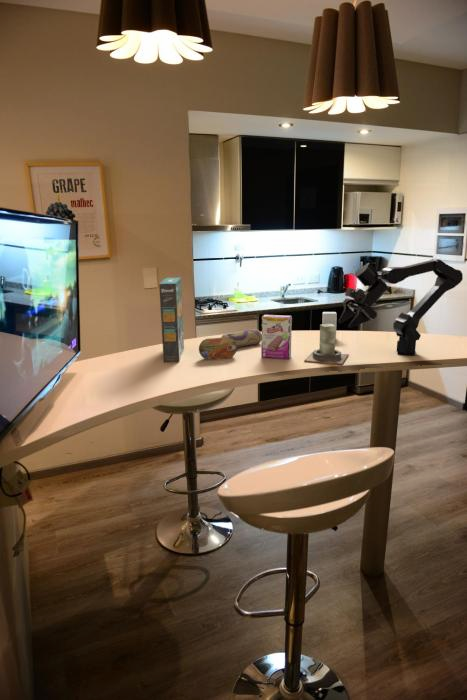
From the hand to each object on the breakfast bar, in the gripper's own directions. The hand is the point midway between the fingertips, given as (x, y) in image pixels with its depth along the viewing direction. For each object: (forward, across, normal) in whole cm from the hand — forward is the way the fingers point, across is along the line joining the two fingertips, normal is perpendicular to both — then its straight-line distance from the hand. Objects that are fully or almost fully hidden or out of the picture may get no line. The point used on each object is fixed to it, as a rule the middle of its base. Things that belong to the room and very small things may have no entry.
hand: (343, 324), depth 175 cm
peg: (+13, 0, +4) cm, 14 cm away
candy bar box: (+27, -7, -8) cm, 29 cm away
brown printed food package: (+42, -11, -24) cm, 50 cm away
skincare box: (+4, -32, +14) cm, 35 cm away
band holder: (+14, 0, +4) cm, 14 cm away
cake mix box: (+54, -20, -36) cm, 68 cm away
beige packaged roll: (+36, -28, -17) cm, 48 cm away
